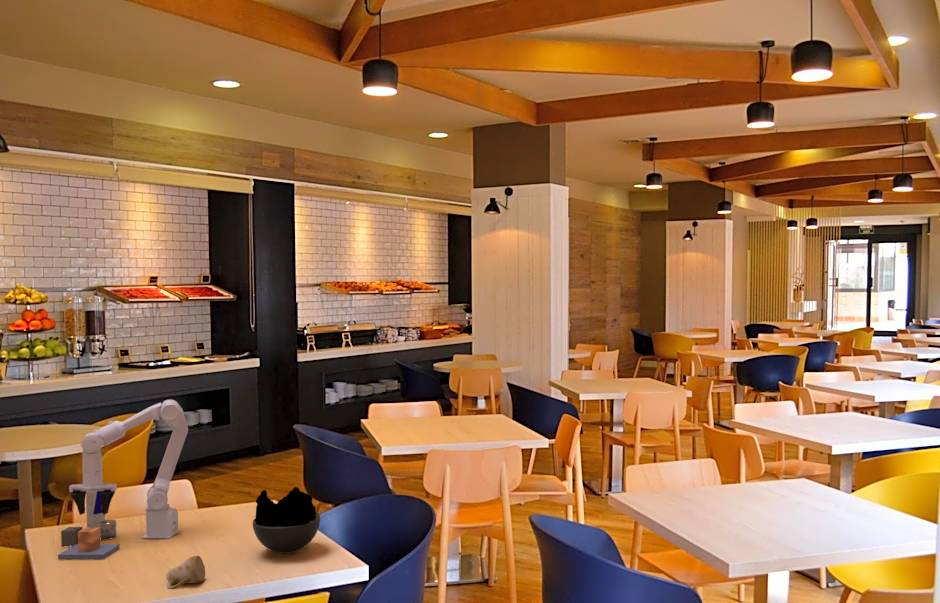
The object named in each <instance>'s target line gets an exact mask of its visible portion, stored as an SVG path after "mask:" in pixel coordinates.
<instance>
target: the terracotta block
mask: <svg viewBox="0 0 940 603" xmlns="http://www.w3.org/2000/svg"><path fill="white" fill-rule="evenodd" d="M100 544H101V539H100V527H95V528H87V527H84V528H83V529H82V530H80V531H79V532H78V551H79V552H93V551H95V550H96V549H98V548H99V547H100Z"/></svg>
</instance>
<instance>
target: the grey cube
mask: <svg viewBox="0 0 940 603" xmlns="http://www.w3.org/2000/svg"><path fill="white" fill-rule="evenodd" d="M99 527H100V538H101V539H100V540H102V539H108V540H111V539H110V538H113V539H115V538H117V520H115V519H105V520H104V521H101V522H100V523H99ZM114 537H115V538H114Z"/></svg>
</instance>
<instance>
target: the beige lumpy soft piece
mask: <svg viewBox="0 0 940 603" xmlns="http://www.w3.org/2000/svg"><path fill="white" fill-rule="evenodd" d="M165 577H166V580H167V582H168V584H167V585H166V587H167V589H177V588H178V587H180V586H182V585H183V584H185V583H186V584H198V583H200V582H203V581H205V578H206V568H205V564H204V562H203V559H202V558H201V556H200V555H193V556H190V557H189V558H187V559H186V560H184V561H183V562H182V563H180V564H179V565H177V566H175V567H172V568H171V569H168V571H167V572H166V575H165ZM174 584H175V585H174Z"/></svg>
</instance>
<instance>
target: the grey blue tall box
mask: <svg viewBox="0 0 940 603" xmlns="http://www.w3.org/2000/svg"><path fill="white" fill-rule="evenodd" d="M102 492H104V491H86V496H85V512H86V528H95V527H99V523H100V522H101V521H104V520H106V514H103V511H102V499H101V496H100V493H102Z"/></svg>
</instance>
